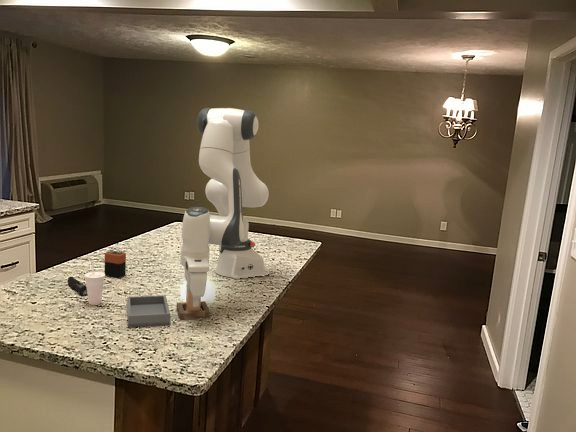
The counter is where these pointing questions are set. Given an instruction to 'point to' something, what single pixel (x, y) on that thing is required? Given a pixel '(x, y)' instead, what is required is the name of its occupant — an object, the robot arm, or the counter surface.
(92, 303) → the smoothie
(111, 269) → the battery
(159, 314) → the tray
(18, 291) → the counter surface
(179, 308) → the frame
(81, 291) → the electric trimmer
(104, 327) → the counter surface
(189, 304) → the block
